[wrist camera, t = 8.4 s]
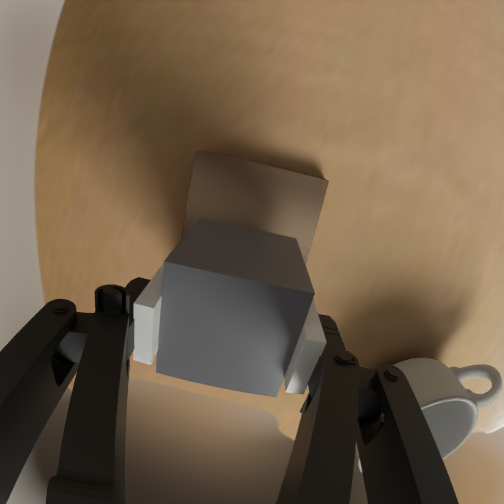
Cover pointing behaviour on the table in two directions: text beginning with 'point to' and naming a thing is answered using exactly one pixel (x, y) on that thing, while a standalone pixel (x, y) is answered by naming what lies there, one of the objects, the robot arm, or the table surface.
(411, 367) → the teacup
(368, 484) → the robot arm
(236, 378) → the grey upright block
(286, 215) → the stand
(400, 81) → the table surface
